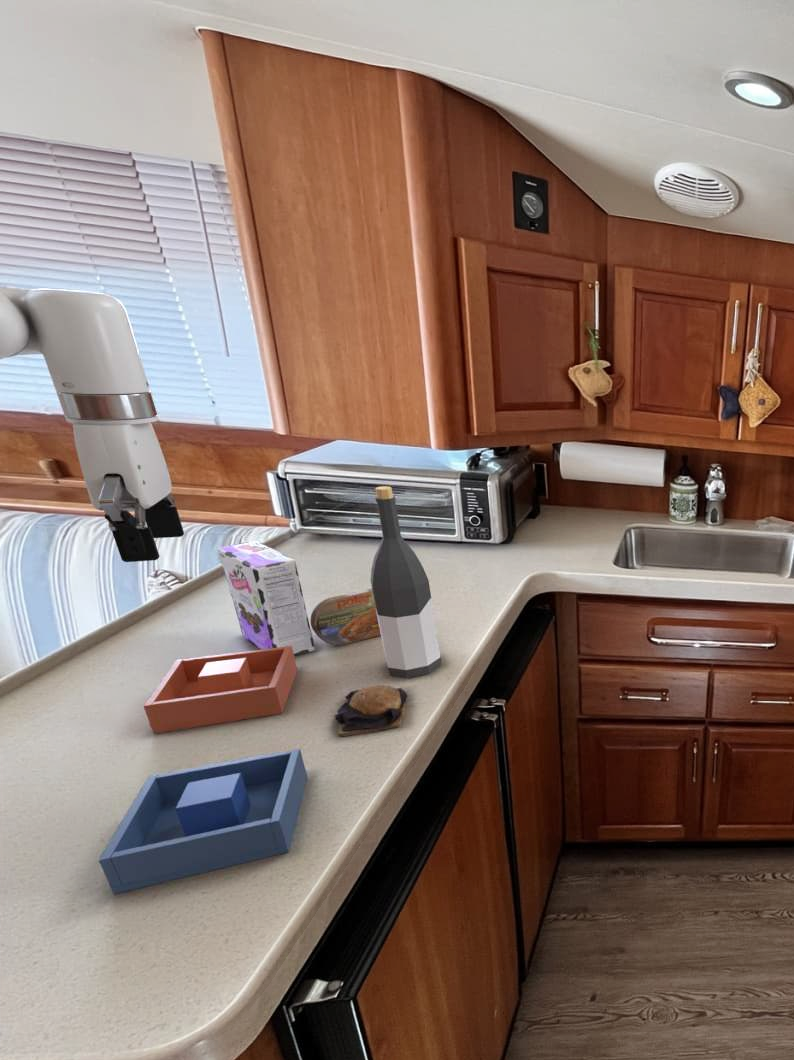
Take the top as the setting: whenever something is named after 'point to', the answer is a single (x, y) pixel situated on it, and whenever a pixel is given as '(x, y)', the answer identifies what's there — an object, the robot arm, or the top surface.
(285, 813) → the blue bin
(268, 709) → the terracotta bin
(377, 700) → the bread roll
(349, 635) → the tin
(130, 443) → the robot arm
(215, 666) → the terracotta block
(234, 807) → the blue block
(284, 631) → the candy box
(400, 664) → the wine bottle
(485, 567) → the top surface
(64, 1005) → the top surface
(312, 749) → the top surface
